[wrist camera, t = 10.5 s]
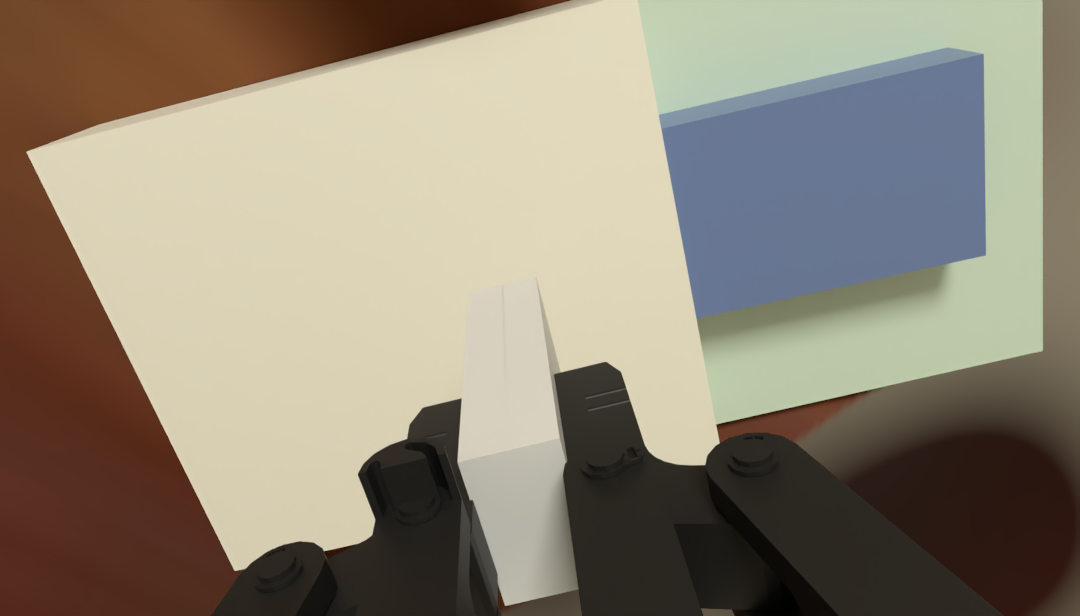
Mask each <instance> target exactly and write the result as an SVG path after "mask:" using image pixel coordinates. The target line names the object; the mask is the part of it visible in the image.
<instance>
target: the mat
mask: <svg viewBox="0 0 1080 616" xmlns="http://www.w3.org/2000/svg"><path fill="white" fill-rule="evenodd" d="M638 6H639V11H640V16H641V22H642V27H643V33H644V38H645V43H646V49H647V54H648V60H649V65H650V70H651V76H652V81H653V87H654V92H655V97H656V103H657V108H658V114H659V115H660V114H664V113H669V112H673V111H677V110H682V109H686V108H690V107H694V106H699V105H703V104H707V103H712V102H716V101H720V100H724V99H729V98H733V97H737V96H742V95H746V94H750V93H754V92H759V91H763V90H767V89H771V88H776V87H780V86H784V85H789V84H793V83H797V82H801V81H806V80H810V79H814V78H819V77H823V76H827V75H831V74H836V73H840V72H844V71H849V70H853V69H857V68H861V67H866V66H870V65H874V64H879V63H883V62H887V61H891V60H896V59H900V58H904V57H909V56H913V55H917V54H921V53H926V52H930V51H934V50H939V49H943V48H947V47H949V48H954V49H960V50H965V51H971V52H976V53H982V54H984V121H985V209H986V256H981V257H976V258H972V259H967V260H963V261H958V262H953V263H949V264H944V265H940V266H935V267H931V268H926V269H921V270H917V271H912V272H908V273H903V274H898V275H894V276H889V277H885V278H880V279H875V280H871V281H866V282H862V283H857V284H852V285H848V286H843V287H839V288H834V289H830V290H825V291H820V292H816V293H811V294H807V295H802V296H797V297H793V298H788V299H784V300H779V301H774V302H770V303H765V304H761V305H756V306H751V307H747V308H742V309H738V310H733V311H729V312H724V313H719V314H715V315H710V316H706V317H701V318H696V319H697V324H698V330H699V335H700V340H701V346H702V351H703V357H704V362H705V367H706V373H707V378H708V384H709V389H710V394H711V400H712V405H713V411H714V416H715V421H716V424H720V423H724V422H729V421H733V420H738V419H742V418H747V417H751V416H756V415H760V414H764V413H769V412H773V411H778V410H782V409H787V408H791V407H796V406H800V405H804V404H809V403H813V402H818V401H822V400H827V399H831V398H836V397H840V396H844V395H849V394H853V393H858V392H862V391H867V390H871V389H876V388H880V387H884V386H889V385H893V384H898V383H902V382H906V381H910V380H915V379H920V378H924V377H929V376H933V375H938V374H942V373H947V372H951V371H955V370H960V369H964V368H969V367H973V366H978V365H982V364H987V363H991V362H995V361H1000V360H1004V359H1009V358H1013V357H1017V356H1022V355H1026V354H1031V353H1036V352H1040V351H1043V185H1042V184H1043V167H1042V166H1043V158H1042V157H1043V155H1042V154H1043V145H1042V144H1043V137H1042V136H1043V127H1042V126H1043V113H1042V112H1043V108H1042V107H1043V105H1042V104H1043V101H1042V100H1043V97H1042V93H1043V92H1042V90H1043V85H1042V84H1043V78H1042V76H1043V74H1042V0H638Z"/></svg>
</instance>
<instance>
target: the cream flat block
mask: <svg viewBox="0 0 1080 616" xmlns="http://www.w3.org/2000/svg"><path fill="white" fill-rule="evenodd" d="M27 154H28V156H29V158H30V160H31V162H32V164H33V166H34V168H35V170H36V172H37V174H38V176H39V178H40V180H41V182H42V184H43V186H44V188H45V190H46V192H47V194H48V196H49V198H50V200H51V202H52V204H53V206H54V208H55V210H56V213H57V215H58V217H59V219H60V221H61V223H62V225H63V227H64V229H65V231H66V233H67V235H68V237H69V239H70V241H71V243H72V245H73V247H74V249H75V251H76V253H77V255H78V257H79V259H80V261H81V263H82V265H83V267H84V269H85V271H86V273H87V275H88V277H89V279H90V281H91V283H92V285H93V287H94V289H95V291H96V293H97V295H98V297H99V299H100V301H101V303H102V305H103V307H104V309H105V311H106V313H107V315H108V317H109V319H110V321H111V323H112V325H113V327H114V329H115V331H116V333H117V335H118V337H119V339H120V341H121V343H122V345H123V347H124V349H125V351H126V353H127V355H128V357H129V359H130V361H131V363H132V365H133V367H134V369H135V371H136V373H137V375H138V377H139V379H140V381H141V383H142V385H143V387H144V389H145V391H146V393H147V396H148V398H149V400H150V402H151V404H152V406H153V408H154V410H155V412H156V414H157V416H158V418H159V420H160V422H161V424H162V426H163V428H164V430H165V432H166V434H167V436H168V438H169V440H170V442H171V444H172V446H173V448H174V450H175V452H176V454H177V456H178V458H179V460H180V462H181V464H182V466H183V468H184V470H185V472H186V474H187V476H188V478H189V480H190V482H191V484H192V486H193V488H194V490H195V492H196V494H197V496H198V498H199V500H200V502H201V504H202V506H203V508H204V510H205V512H206V514H207V516H208V518H209V520H210V522H211V524H212V526H213V528H214V530H215V532H216V534H217V536H218V538H219V540H220V542H221V544H222V546H223V548H224V550H225V552H226V554H227V556H228V558H229V560H230V562H231V564H232V566H233V568H234V570H235V571H237V570H242V569H246V568H247V567H248V566H249V565H250V563H252V562H253V561H255V560H256V559H257V558H259V557H260V556H262V555H263V554H264V553H266V552H268V551H270V550H272V549H275V548H276V547H279V546H282V545H284V544H289V543H294V542H299V541H303V542H314V543H315V544H317V545H318V546H320V547H321V548H323V550H324V551H327V550H332V549H336V548H341V547H345V546H350V545H354V544H359V543H361V542H363V541H365V540H366V539H368V538H369V537H371V536H372V534H373V529H374V524H375V517H374V515H373V512H372V510H371V507H370V505H369V502H368V500H367V497H366V494H365V492H364V489H363V487H362V484H361V482H360V479H359V477H358V473H359V471H360V469H361V467H362V465H363V464H364V463H365V462H366V461H367V460H368V459H369V458H370V457H371V456H372V455H373V454H375V453H376V452H378V451H380V450H382V449H383V448H385V447H387V446H389V445H391V444H394V443H397V442H399V441H402V440H405V439H407V436H408V430H409V425H410V423H411V422H412V421H413V419H414V418H415V417H416V416H417V414H418V413H419V412H420V411H421V409H422V408H423V407H427V406H432V405H436V404H440V403H444V402H448V401H452V400H457V399H461V398H462V387H463V373H464V358H465V343H466V329H467V314H468V300H469V293H470V292H474V291H478V290H482V289H486V288H490V287H494V286H498V285H502V284H506V283H510V282H515V281H519V280H523V279H527V278H531V277H535V276H536V278H537V282H538V286H539V290H540V294H541V298H542V302H543V305H544V309H545V313H546V317H547V321H548V325H549V329H550V332H551V336H552V340H553V344H554V348H555V352H556V356H557V359H558V363H559V367H560V371H561V372H565V371H569V370H573V369H577V368H581V367H586V366H590V365H594V364H598V363H602V362H607V363H609V364H610V365H612V366H613V367H615V368H616V369H618V370H619V371H621V373H622V376H623V379H624V382H625V385H626V389H627V392H628V395H629V398H630V401H631V404H632V407H633V410H634V413H635V416H636V419H637V423H638V426H639V429H640V432H641V435H642V438H643V441H644V444H645V446H646V448H647V450H648V451H649V452H650V453H651V454H652V455H653V456H655V457H656V458H658V459H660V460H663V461H665V462H669V463H673V464H677V465H705V464H706V459H707V455H708V454H709V453H710V452H711V451H712V449H713V448H714V447H715V446H716V445H718V444H720V443H719V438H718V432H717V427H716V421H715V416H714V411H713V405H712V400H711V394H710V389H709V384H708V378H707V373H706V367H705V362H704V357H703V351H702V346H701V340H700V335H699V330H698V324H697V319H696V313H695V308H694V303H693V297H692V292H691V286H690V281H689V276H688V270H687V265H686V259H685V254H684V249H683V243H682V238H681V232H680V227H679V222H678V216H677V211H676V205H675V200H674V195H673V189H672V184H671V178H670V173H669V168H668V162H667V157H666V151H665V146H664V141H663V135H662V130H661V124H660V119H659V114H658V108H657V103H656V97H655V92H654V87H653V81H652V76H651V70H650V65H649V60H648V54H647V49H646V43H645V38H644V33H643V27H642V22H641V16H640V11H639V6H638V0H571V1H567V2H563V3H559V4H556V5H552V6H548V7H544V8H540V9H537V10H533V11H529V12H525V13H521V14H518V15H514V16H510V17H506V18H502V19H499V20H495V21H491V22H487V23H483V24H480V25H476V26H472V27H468V28H464V29H461V30H457V31H453V32H449V33H445V34H442V35H438V36H434V37H430V38H426V39H423V40H419V41H415V42H411V43H407V44H403V45H400V46H396V47H392V48H388V49H384V50H381V51H377V52H373V53H369V54H365V55H362V56H358V57H354V58H350V59H346V60H343V61H339V62H335V63H331V64H327V65H324V66H320V67H316V68H312V69H308V70H305V71H301V72H297V73H293V74H289V75H286V76H282V77H278V78H274V79H270V80H267V81H263V82H259V83H255V84H251V85H248V86H244V87H240V88H236V89H232V90H229V91H225V92H221V93H217V94H213V95H210V96H206V97H202V98H198V99H194V100H191V101H187V102H183V103H179V104H175V105H172V106H168V107H164V108H160V109H156V110H153V111H149V112H145V113H141V114H137V115H134V116H130V117H126V118H122V119H118V120H114V121H111V122H107V123H103V124H99V125H97V126H94V127H91V128H89V129H86V130H83V131H81V132H78V133H75V134H73V135H70V136H67V137H65V138H62V139H59V140H57V141H54V142H51V143H49V144H46V145H43V146H41V147H38V148H35V149H33V150H30V151H27Z"/></svg>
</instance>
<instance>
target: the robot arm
mask: <svg viewBox="0 0 1080 616" xmlns="http://www.w3.org/2000/svg"><path fill="white" fill-rule="evenodd" d="M358 477H359V479H360V482H361V484H362V487H363V489H364V492H365V494H366V497H367V500H368V502H369V505H370V507H371V510H372V512H373V515H374V517H375V524H374V529H373V534H372V536H371V537H369V538H368V539H366V540H365V541H363V542H361V543H359V544H357V545H356V546H354V547H352V548H349V549H347V550H345V551H343V552H341V553H338V554H336V555H334V556H332V557H330V558H327V557H326V555H325V553H324V550H323V548H321V547H320V546H318V545H317V544H315V543H314V542H303V541H299V542H294V543H289V544H284V545H282V546H279V547H276V548H275V549H272V550H270V551H268V552H266V553H264V554H263V555H262V556H260V557H259V558H257V559H256V560H255V561H253V562H252V563H250V565H249V566H248V567H247V568H246V569H245V570H244V571H243V572H242V573H241V574H240V575H239V577H238V578H237V580H236V581H235V582H234V584H233V585H232V587H231V588H230V590H229V591H228V592H227V594H226V595H225V597H224V598H223V600H222V601H221V602H220V604H219V605H218V607H217V608H216V610H215V611H214V613H213V614H212V615H211V616H501V613H500V610H499V607H498V586H499V589H500V592H501V595H502V598H503V601H504V604H505V606H507V605H512V604H516V603H521V602H525V601H529V600H534V599H538V598H542V597H547V596H551V595H556V594H560V593H564V592H568V591H573V590H577V589H579V596H580V603H581V610H582V616H703V614H702V610H701V608H709V609H732V610H733V613H734V615H735V616H1003V615H1002V614H1001V613H1000V612H999V611H998V610H996V609H995V608H994V607H993V606H991V605H990V604H989V603H988V602H987V601H985V600H984V599H983V598H982V597H981V596H979V595H978V594H977V593H976V592H975V591H973V590H972V589H971V588H970V587H968V586H967V585H966V584H965V583H963V582H962V581H961V580H960V579H959V578H958V577H956V576H955V575H954V574H953V573H952V572H950V571H949V570H948V569H947V568H945V567H944V566H943V565H942V564H941V563H939V562H938V561H937V560H936V559H935V558H933V557H932V556H931V555H930V554H929V553H927V552H926V551H925V550H924V549H923V548H921V547H920V546H919V545H918V544H917V543H915V542H914V541H913V540H912V539H910V538H909V537H908V536H907V535H906V534H904V533H903V532H902V531H901V530H900V529H898V528H897V527H896V526H895V525H894V524H892V523H891V522H890V521H889V520H888V519H886V518H885V517H884V516H883V515H882V514H880V513H879V512H878V511H877V510H876V509H874V508H873V507H872V506H871V505H869V504H868V503H867V502H866V501H865V500H863V499H862V498H861V497H860V496H859V495H857V494H856V493H855V492H854V491H853V490H851V489H850V488H849V487H848V486H846V485H845V484H844V483H843V482H842V481H840V480H839V479H838V478H837V477H836V476H834V475H833V474H832V473H831V472H830V471H828V470H827V469H826V468H825V467H824V466H822V465H821V464H820V463H819V462H818V461H816V460H815V459H814V458H813V457H811V456H810V455H809V454H808V453H807V452H805V451H804V450H803V449H802V448H801V447H799V446H798V445H797V444H796V443H794V442H792V441H790V440H788V439H787V438H785V437H783V436H779V435H774V434H769V433H747V434H743V435H739V436H735V437H731V438H729V439H727V440H725V441H723V442H721V443H720V444H718V445H716V446H715V447H714V448H713V449H712V451H711V452H710V453H709V454H708V455H707V459H706V464H705V465H677V464H673V463H669V462H665V461H663V460H660V459H658V458H656V457H655V456H653V455H652V454H651V453H650V452H649V451H648V450H647V448H646V446H645V444H644V441H643V438H642V435H641V432H640V429H639V426H638V423H637V419H636V416H635V413H634V410H633V407H632V404H631V401H630V398H629V395H628V392H627V389H626V385H625V382H624V379H623V376H622V373H621V371H619V370H618V369H616V368H615V367H613V366H612V365H610V364H609V363H607V362H602V363H598V364H594V365H590V366H586V367H581V368H577V369H573V370H569V371H565V372H561V371H560V367H559V363H558V359H557V356H556V352H555V348H554V344H553V340H552V336H551V332H550V329H549V325H548V321H547V317H546V313H545V309H544V305H543V302H542V298H541V294H540V290H539V286H538V282H537V278H536V276H535V277H531V278H527V279H523V280H519V281H515V282H510V283H506V284H502V285H498V286H494V287H490V288H486V289H482V290H478V291H474V292H470V293H469V300H468V314H467V329H466V343H465V358H464V373H463V387H462V398H461V399H457V400H452V401H448V402H444V403H440V404H436V405H432V406H427V407H423V408H422V409H421V411H420V412H419V413H418V414H417V416H416V417H415V418H414V419H413V421H412V422H411V423H410V425H409V430H408V436H407V439H405V440H402V441H399V442H397V443H394V444H391V445H389V446H387V447H385V448H383V449H382V450H380V451H378V452H376V453H375V454H373V455H372V456H371V457H370V458H369V459H368V460H367V461H366V462H365V463H364V464H363V465H362V467H361V469H360V471H359V473H358Z"/></svg>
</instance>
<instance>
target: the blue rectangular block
mask: <svg viewBox="0 0 1080 616" xmlns="http://www.w3.org/2000/svg"><path fill="white" fill-rule="evenodd" d="M659 119H660V124H661V130H662V135H663V141H664V146H665V151H666V157H667V162H668V168H669V173H670V178H671V184H672V189H673V195H674V200H675V205H676V211H677V216H678V222H679V227H680V232H681V238H682V243H683V249H684V254H685V259H686V265H687V270H688V276H689V281H690V286H691V292H692V297H693V303H694V308H695V313H696V318H701V317H706V316H710V315H715V314H719V313H724V312H729V311H733V310H738V309H742V308H747V307H751V306H756V305H761V304H765V303H770V302H774V301H779V300H784V299H788V298H793V297H797V296H802V295H807V294H811V293H816V292H820V291H825V290H830V289H834V288H839V287H843V286H848V285H852V284H857V283H862V282H866V281H871V280H875V279H880V278H885V277H889V276H894V275H898V274H903V273H908V272H912V271H917V270H921V269H926V268H931V267H935V266H940V265H944V264H949V263H953V262H958V261H963V260H967V259H972V258H976V257H981V256H986V209H985V121H984V54H982V53H976V52H971V51H965V50H960V49H954V48H949V47H947V48H943V49H939V50H934V51H930V52H926V53H921V54H917V55H913V56H909V57H904V58H900V59H896V60H891V61H887V62H883V63H879V64H874V65H870V66H866V67H861V68H857V69H853V70H849V71H844V72H840V73H836V74H831V75H827V76H823V77H819V78H814V79H810V80H806V81H801V82H797V83H793V84H789V85H784V86H780V87H776V88H771V89H767V90H763V91H759V92H754V93H750V94H746V95H742V96H737V97H733V98H729V99H724V100H720V101H716V102H712V103H707V104H703V105H699V106H694V107H690V108H686V109H682V110H677V111H673V112H669V113H664V114H660V115H659Z"/></svg>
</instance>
